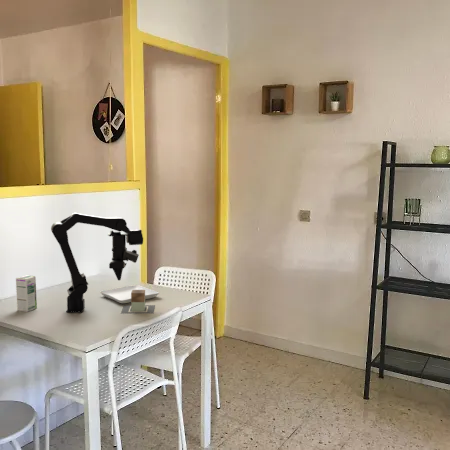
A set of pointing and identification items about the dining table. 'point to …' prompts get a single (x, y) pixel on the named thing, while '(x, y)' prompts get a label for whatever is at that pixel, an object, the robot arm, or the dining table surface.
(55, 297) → the dining table surface
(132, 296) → the walnut block
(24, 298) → the syrup box
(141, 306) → the sage block
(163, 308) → the dining table surface
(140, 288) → the salad plate
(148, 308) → the mat
